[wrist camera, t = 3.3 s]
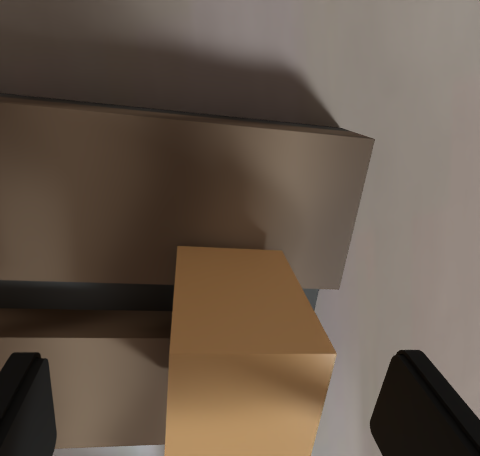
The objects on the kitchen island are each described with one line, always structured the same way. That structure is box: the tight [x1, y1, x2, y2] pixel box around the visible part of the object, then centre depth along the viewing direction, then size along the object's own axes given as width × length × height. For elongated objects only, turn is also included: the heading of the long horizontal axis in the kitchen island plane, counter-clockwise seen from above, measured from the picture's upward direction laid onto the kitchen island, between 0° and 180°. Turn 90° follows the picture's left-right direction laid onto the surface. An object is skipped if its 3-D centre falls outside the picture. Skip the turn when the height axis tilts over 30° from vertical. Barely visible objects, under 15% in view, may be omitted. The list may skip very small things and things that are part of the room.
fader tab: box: [165, 246, 337, 456], centre depth 12 cm, size 4×6×7 cm, turn 174°
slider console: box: [0, 93, 375, 449], centre depth 14 cm, size 25×14×3 cm, turn 84°
